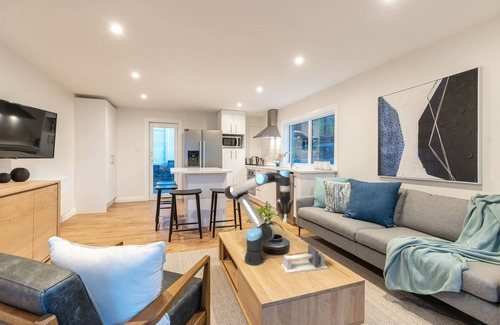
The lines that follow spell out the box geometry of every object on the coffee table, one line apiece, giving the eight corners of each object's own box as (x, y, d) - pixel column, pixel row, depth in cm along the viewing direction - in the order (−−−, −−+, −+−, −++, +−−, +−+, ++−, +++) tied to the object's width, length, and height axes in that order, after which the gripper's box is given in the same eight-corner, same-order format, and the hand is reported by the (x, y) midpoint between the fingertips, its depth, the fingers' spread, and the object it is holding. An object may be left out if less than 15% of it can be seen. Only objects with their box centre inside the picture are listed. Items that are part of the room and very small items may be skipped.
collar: (315, 267, 161) (315, 251, 160) (308, 260, 171) (308, 245, 171) (318, 266, 161) (318, 251, 161) (311, 259, 172) (311, 245, 171)
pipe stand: (287, 273, 156) (287, 260, 155) (281, 265, 168) (281, 252, 167) (327, 268, 162) (327, 255, 162) (319, 261, 174) (319, 249, 173)
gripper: (278, 192, 167) (278, 224, 168) (295, 191, 170) (294, 223, 171) (274, 190, 175) (274, 221, 176) (291, 190, 177) (291, 220, 178)
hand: (284, 222), depth 173 cm, fingers closed
